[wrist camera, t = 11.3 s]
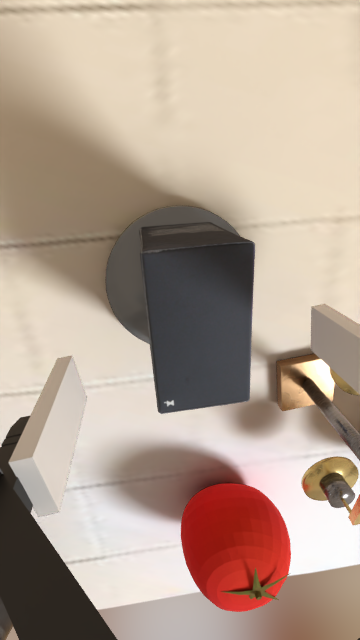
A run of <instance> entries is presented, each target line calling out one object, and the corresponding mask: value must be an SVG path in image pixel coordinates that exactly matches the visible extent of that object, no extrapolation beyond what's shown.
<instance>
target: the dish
mask: <svg viewBox="0 0 360 640" xmlns="http://www.w3.org/2000/svg"><path fill="white" fill-rule="evenodd" d="M202 222H203V223H204V222H211V223H213V224H215V225H217V226H219V227H221V228H223V229H225V230H227V231H230V232H232V233H234V234H236V235H238V236H240V235H239V234H238V233H237V232H236V230H235V229H234V228H233V227H232V226H231V225H230V224H229V223H227V222H226V221H225V220H223V219H222V218H221V217H219V216H217V215H215V214H213V213H211V212H209V211H206V210H203V209H200V208H197V207H191V206H169V207H164V208H160V209H157V210H154V211H152V212H149V213H147V214H145V215H143V216H142V217H140V218H138V219H137V220H136V221H135V222H133V223H132V224H131V225H130V226H129V227H128V228H127V229H126V230H125V231H124V232H123V233H122V234H121V236H120V237H119V239H118V240H117V242H116V244H115V245H114V247H113V249H112V251H111V254H110V257H109V260H108V264H107V268H106V279H105V280H106V291H107V296H108V300H109V303H110V305H111V308H112V310H113V312H114V314H115V315H116V317H117V318H118V320H119V321H120V323H121V324H122V325H123V326H124V327H125V328H126V329H127V330H128V331H129V332H130V333H132V334H133V335H134V336H136V337H137V338H139V339H140V340H142V341H144V342H147V343H149V344H150V340H149V332H148V323H147V314H146V305H145V297H144V288H143V279H142V270H141V260H140V251H141V245H140V235H139V229H140V228H141V227H149V226H162V225H175V224H189V223H202Z"/></svg>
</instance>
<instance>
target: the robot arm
mask: <svg viewBox="0 0 360 640" xmlns="http://www.w3.org/2000/svg"><path fill="white" fill-rule="evenodd" d="M311 351H313V352H314V353H315V354H316V355H317V356H318V357H319V358H320V359H321V360H322V361H323V362H325V363H326V364H327V365H328V366H329V367H330V368H331V369H332V370H333V371H334V372H336V373H337V374H338V375H339V376H340V377H341V378H342V379H343V380H344V381H345V382H347V383H348V384H349V385H350V386H351V387H352V388H353V389H354V390H355V391H356V392H357V393H359V394H360V325H359V324H358V323H356V322H354V321H353V320H351V319H349V318H348V317H346V316H344V315H343V314H341V313H339V312H338V311H336V310H334V309H333V308H331V307H329V306H328V305H326V304H322V305H317V306H312V311H311ZM86 400H87V396H86V393H85V390H84V387H83V384H82V382H81V379H80V376H79V373H78V370H77V368H76V365H75V362H74V359H73V356H67V357H63V358H58V359H57V361H56V363H55V365H54V367H53V369H52V371H51V373H50V376H49V378H48V380H47V382H46V384H45V386H44V388H43V390H42V393H41V395H40V397H39V399H38V401H37V403H36V405H35V407H34V409H33V412H32V414H31V416H26V417H21V418H20V419H19V420H18V421H17V422H16V423H15V424H14V425H13V426H12V427H11V428H10V430H9V432H8V434H7V436H6V439H5V440H4V442H3V443H2V447H0V640H6V638H7V636H8V634H9V632H10V631H11V629H12V627H13V626H14V629H15V631H16V633H17V636H18V638H19V640H117V639H116V637H115V636H114V634H113V633H112V631H111V630H110V628H109V627H108V626H107V624H106V623H105V621H104V620H103V618H102V617H101V615H100V614H99V612H98V611H97V609H96V608H95V607H94V605H93V604H92V602H91V601H90V599H89V598H88V596H87V595H86V593H85V592H84V591H83V589H82V588H81V586H80V585H79V583H78V582H77V580H76V579H75V578H74V576H73V575H72V573H71V572H70V570H69V569H68V567H67V566H66V564H65V563H64V562H63V560H62V559H61V557H60V556H59V554H58V553H57V551H56V550H55V548H54V547H53V546H52V544H51V543H50V541H49V540H48V538H47V537H46V535H45V534H44V532H43V531H42V530H41V528H40V527H39V525H38V524H37V522H36V521H35V519H34V518H33V516H32V515H31V514H30V513H31V510H32V507H33V508H34V510H35V512H36V514H37V516H38V517H40V516H45V515H49V514H53V513H58V512H60V508H61V504H62V500H63V496H64V492H65V488H66V483H67V479H68V475H69V471H70V467H71V463H72V458H73V454H74V450H75V446H76V442H77V438H78V433H79V429H80V425H81V421H82V417H83V413H84V408H85V404H86ZM358 640H360V638H359V639H358Z"/></svg>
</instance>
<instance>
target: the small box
mask: <svg viewBox="0 0 360 640" xmlns="http://www.w3.org/2000/svg"><path fill="white" fill-rule="evenodd" d="M139 235H140V245H141V251H140V260H141V270H142V279H143V288H144V297H145V305H146V314H147V323H148V332H149V340H150V349H151V357H152V365H153V374H154V382H155V391H156V398H157V407H158V412H159V413H160V414H165V413H171V412H178V411H185V410H193V409H199V408H206V407H213V406H221V405H227V404H234V403H241V402H247V401H249V399H250V366H251V334H252V307H253V282H254V259H255V244H254V242H252V241H250V240H247V239H245V238H242V237H240V236H238V235H236V234H234V233H232V232H230V231H227V230H225V229H223V228H221V227H219V226H217V225H215V224H213V223H211V222H204V223H203V222H202V223H189V224H175V225H162V226H149V227H141V228H140V229H139Z"/></svg>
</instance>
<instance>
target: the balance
mask: <svg viewBox="0 0 360 640" xmlns="http://www.w3.org/2000/svg"><path fill="white" fill-rule="evenodd" d="M334 382H335V383H336V384H337V385H338V386H339V387H340V388H341V389H342V390H343V391H345V392H347V393H349V394H353V395H360V394H359V393H357V392H356V391H355V390H354V389H353V388H352V387H351V386H350V385H349V384H348V383H347V382H345V381H344V380H343V379H342V378H341V377H340V376H339V375H338V374H337V373H336V372H334V371H333V370H332V369H331V368H330V367H329V366H328V365H327V364H326V363H325V362H323V361H322V360H321V359H320V358H319V357H318V356H317V355H316V354H310V355H305V356H300V357H295V358H290V359H285V360H280V361H277V396H278V406H279V407H280V409H281V410H282V411H286V410H291V409H295V408H300V407H305V406H310V405H315V404H316V406H317V407H318V408H319V410H320V411H321V412H322V413H323V415H324V416H325V417H326V418H327V420H328V421H329V422H330V424H331V425H332V426H333V427H334V429H335V430H336V431H337V432H338V434H339V435H340V436H341V437H342V439H343V440H344V441H345V443H346V444H347V445H348V446H349V448H350V449H351V450H352V451H353V453H354V454H355V455H356V456H357V458H358V459H359V460H360V434H359V432H358V431H357V430H356V429H355V428H354V427H353V426H352V424H351V423H350V422H349V421H348V420H347V419H346V418H345V416H344V415H343V414H342V413H341V412H340V411H339V410H338V408H337V407H336V406H335V405H334V404H333V403H332V402H331V401H333V394H334ZM357 479H358V469H357V467H356V466H355V465H354V463H353V462H352V461H351V460H349V459H347V458H344V457H330V458H326V459H323V460H321V461H319V462H317V463H315V464H314V465H312V466H311V467H310V468H309V469H308V470H307V471H306V472H305V474H304V476H303V478H302V488H303V490H304V492H305V494H306V495H307V496H308V497H309V498H311V499H314V500H319V501H324V500H328V501H329V503H330V505H331V506H332V507H335V508H341V507H346V508H347V510H348V512H349V513H350V515H349V519H350V521H351V523H352V525H357V524H360V495H359V497H358V499H357V501H356V503H355V505H354V507H353V509H352V510H351V509H350V507H349V506H348V505H349V504H350V503H351V502H352V501H353V500H354V498H355V493H354V492H353V491H352V489H351V488H352V487H353V486H354V484H355V483H356V481H357Z"/></svg>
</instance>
